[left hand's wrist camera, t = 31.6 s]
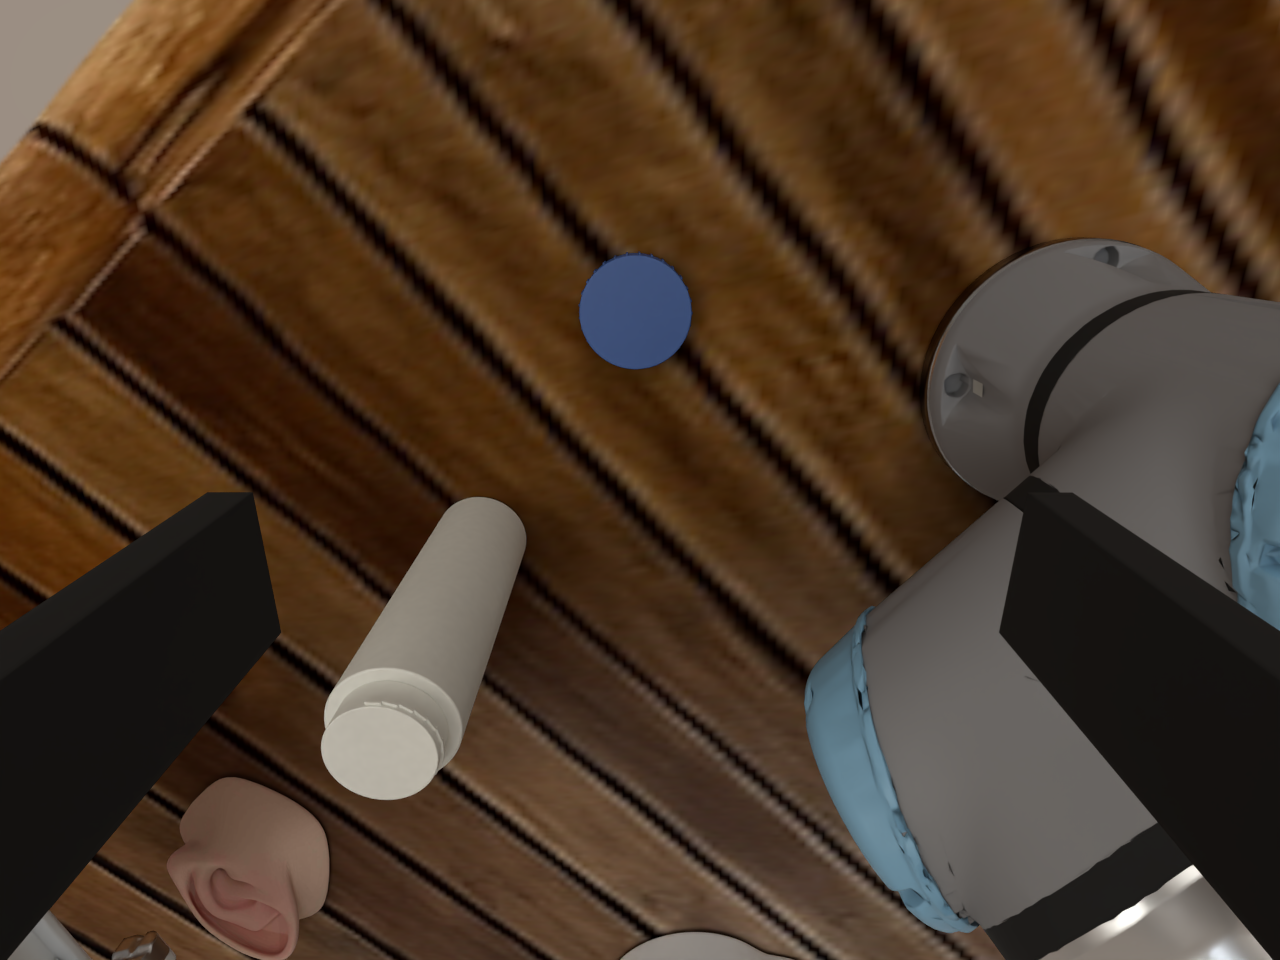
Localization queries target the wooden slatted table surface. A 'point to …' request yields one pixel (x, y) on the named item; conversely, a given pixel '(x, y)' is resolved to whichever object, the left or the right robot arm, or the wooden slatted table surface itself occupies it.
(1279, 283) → the wooden slatted table surface
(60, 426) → the wooden slatted table surface
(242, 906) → the anatomical model
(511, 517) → the bottle
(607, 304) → the lid
